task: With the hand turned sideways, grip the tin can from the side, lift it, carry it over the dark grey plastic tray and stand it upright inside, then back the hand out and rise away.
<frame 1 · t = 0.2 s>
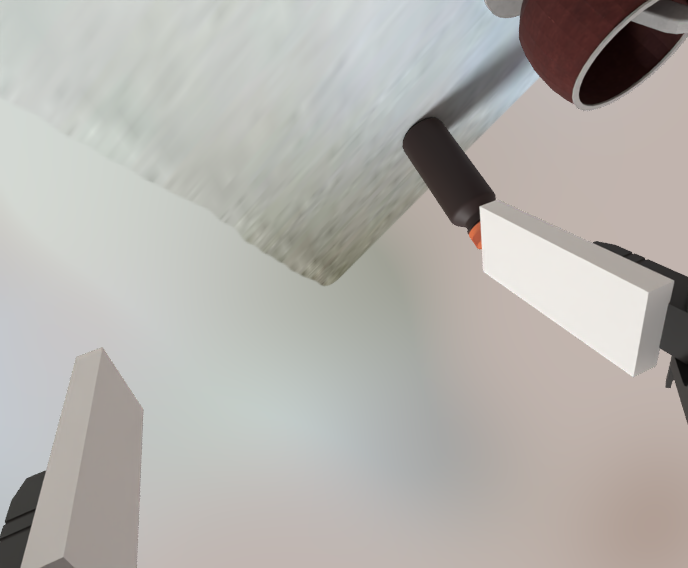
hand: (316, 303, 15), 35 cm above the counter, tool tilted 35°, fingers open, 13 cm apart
bottle: (420, 134, 68), on the counter
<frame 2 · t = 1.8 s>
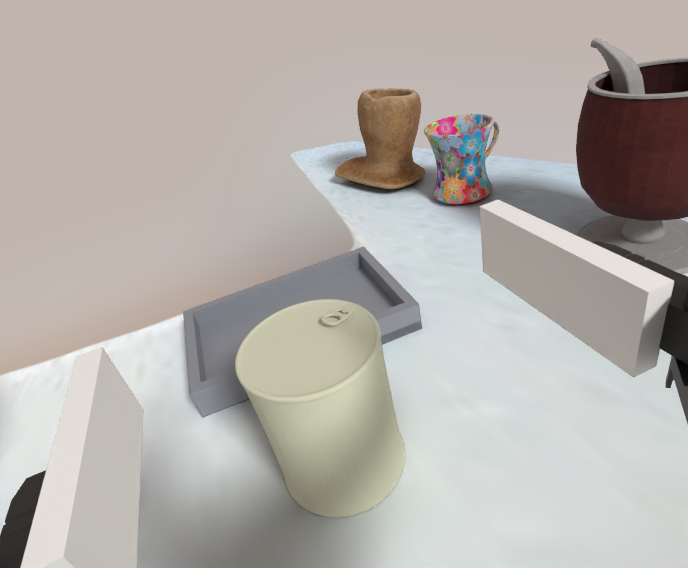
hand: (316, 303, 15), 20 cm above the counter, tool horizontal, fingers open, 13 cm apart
mug: (469, 194, 68), on the counter
mate gourd: (633, 243, 49), on the counter
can: (344, 459, 34), on the counter
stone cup: (387, 180, 79), on the counter
tray: (298, 330, 48), on the counter
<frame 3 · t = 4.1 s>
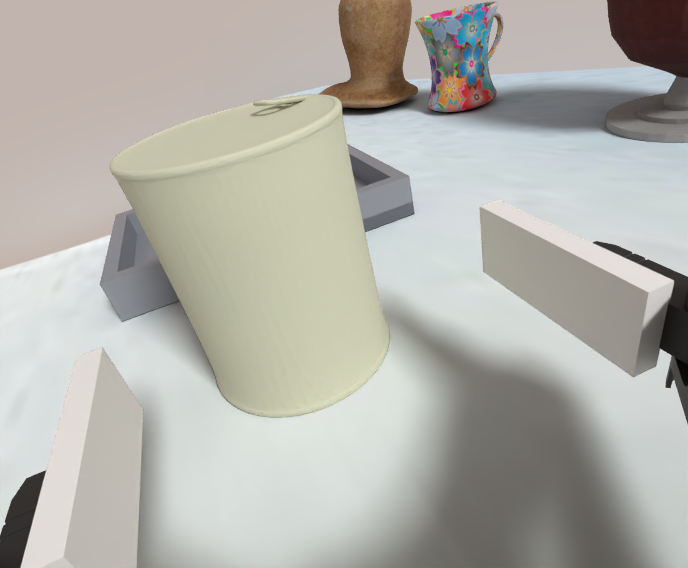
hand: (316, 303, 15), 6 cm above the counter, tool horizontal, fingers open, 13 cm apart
mug: (469, 104, 58), on the counter
mate gourd: (677, 118, 39), on the counter
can: (304, 351, 24), on the counter
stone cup: (375, 105, 70), on the counter
tray: (259, 230, 38), on the counter
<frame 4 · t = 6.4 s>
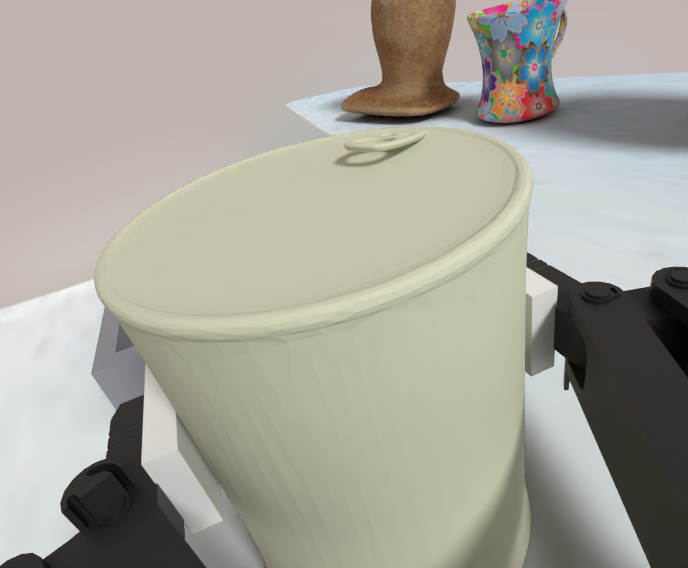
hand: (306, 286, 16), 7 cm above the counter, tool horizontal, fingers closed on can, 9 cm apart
mug: (525, 113, 50), on the counter
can: (390, 500, 16), on the counter, touching gripper
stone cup: (409, 113, 62), on the counter
tray: (294, 278, 30), on the counter
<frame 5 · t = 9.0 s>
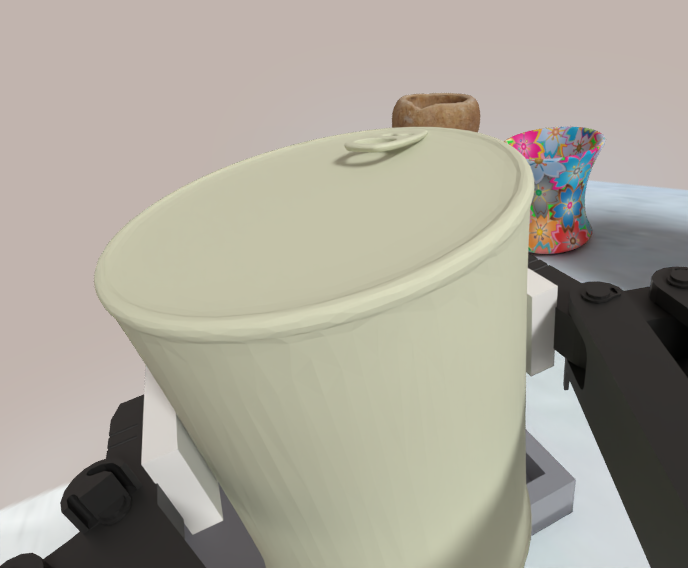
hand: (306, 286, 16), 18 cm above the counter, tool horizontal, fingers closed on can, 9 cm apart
mug: (554, 235, 49), on the counter
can: (390, 501, 16), point 11 cm above the counter, touching gripper
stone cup: (429, 213, 61), on the counter
tray: (346, 499, 28), on the counter
when the fingers open (9 cm above the counter, at t = 11.8 s): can drops 1 cm, resting on tray.
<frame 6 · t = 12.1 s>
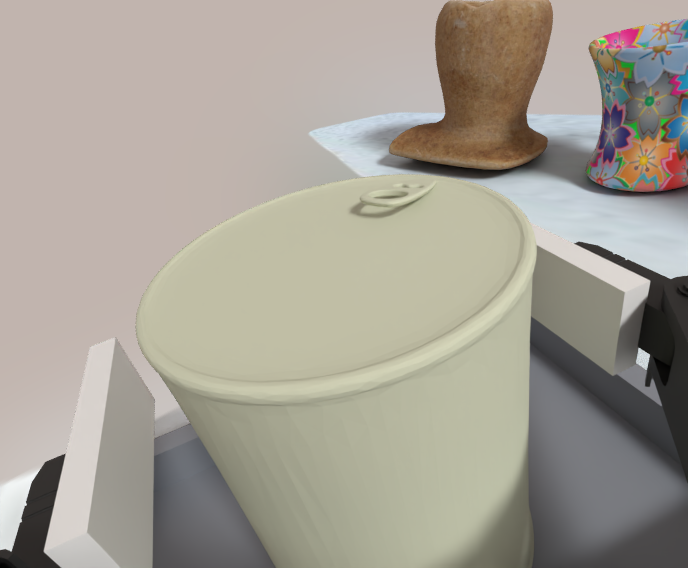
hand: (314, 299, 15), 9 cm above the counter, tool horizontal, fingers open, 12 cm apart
mug: (653, 174, 37), on the counter
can: (399, 520, 17), point 1 cm above the counter, touching tray
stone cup: (476, 159, 49), on the counter
tray: (398, 534, 17), on the counter
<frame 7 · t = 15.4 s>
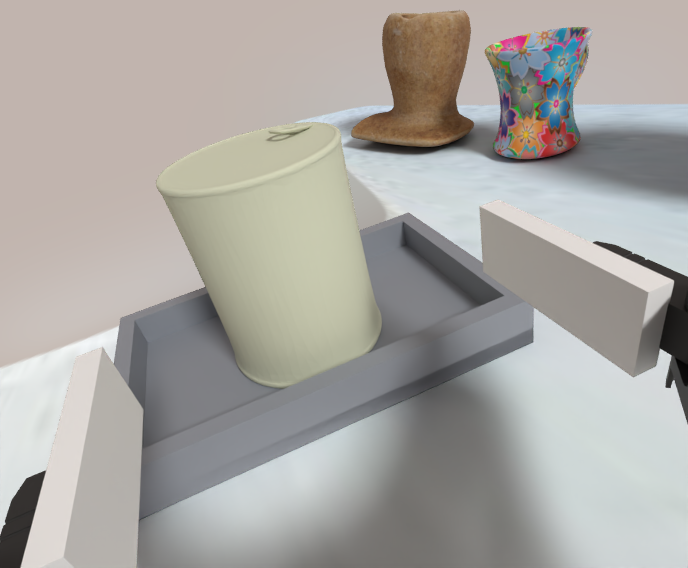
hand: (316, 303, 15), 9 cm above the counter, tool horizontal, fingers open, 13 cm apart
mug: (544, 147, 48), on the counter
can: (309, 336, 28), point 1 cm above the counter, touching tray
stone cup: (421, 140, 60), on the counter
tray: (310, 347, 28), on the counter
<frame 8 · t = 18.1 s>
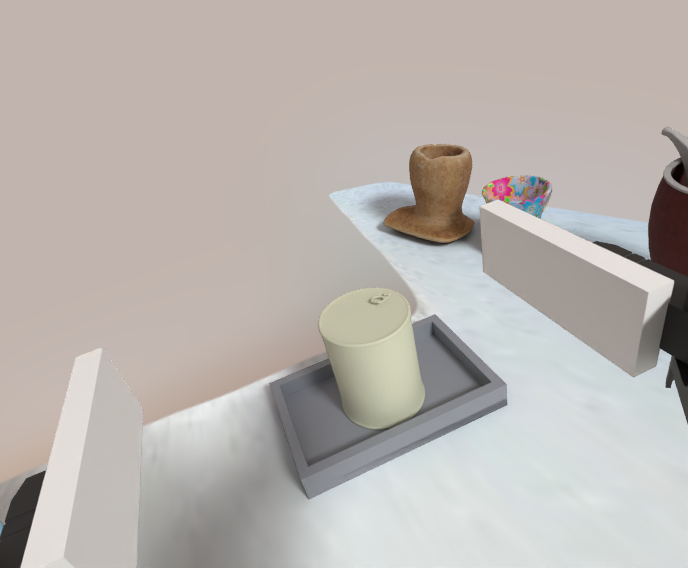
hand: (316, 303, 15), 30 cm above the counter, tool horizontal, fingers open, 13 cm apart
mug: (522, 249, 70), on the counter
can: (383, 397, 50), point 1 cm above the counter, touching tray
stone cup: (435, 230, 82), on the counter
tray: (383, 402, 50), on the counter
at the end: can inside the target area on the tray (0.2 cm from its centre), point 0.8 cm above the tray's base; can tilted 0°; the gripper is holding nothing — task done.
